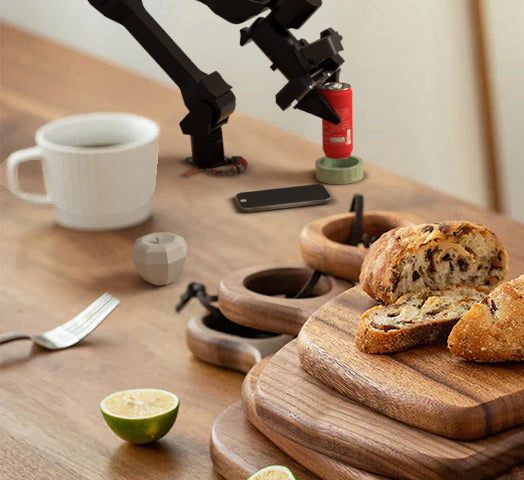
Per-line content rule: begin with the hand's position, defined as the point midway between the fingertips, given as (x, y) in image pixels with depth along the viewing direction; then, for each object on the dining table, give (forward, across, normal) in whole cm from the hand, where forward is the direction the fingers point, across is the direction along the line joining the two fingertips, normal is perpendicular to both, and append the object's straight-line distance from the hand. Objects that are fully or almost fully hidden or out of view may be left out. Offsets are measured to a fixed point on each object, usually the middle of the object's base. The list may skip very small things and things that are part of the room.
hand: (344, 118), depth 181 cm
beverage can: (+4, 0, +6) cm, 7 cm away
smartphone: (+3, -14, +12) cm, 18 cm away
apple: (0, -47, +14) cm, 49 cm away
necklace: (-8, -3, +24) cm, 26 cm away
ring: (+6, 0, +8) cm, 10 cm away
